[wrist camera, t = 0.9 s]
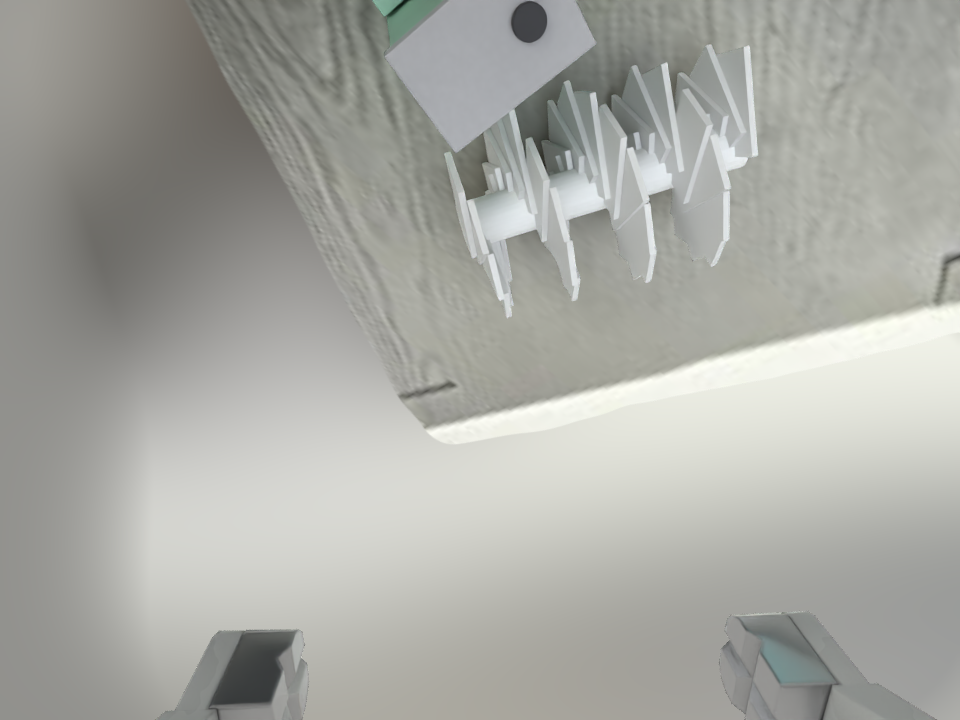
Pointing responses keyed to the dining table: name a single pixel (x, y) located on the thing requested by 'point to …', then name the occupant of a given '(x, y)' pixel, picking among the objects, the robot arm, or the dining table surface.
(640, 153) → the spiral staircase
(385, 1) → the square frame
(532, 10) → the pet feeder tower
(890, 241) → the dining table surface
